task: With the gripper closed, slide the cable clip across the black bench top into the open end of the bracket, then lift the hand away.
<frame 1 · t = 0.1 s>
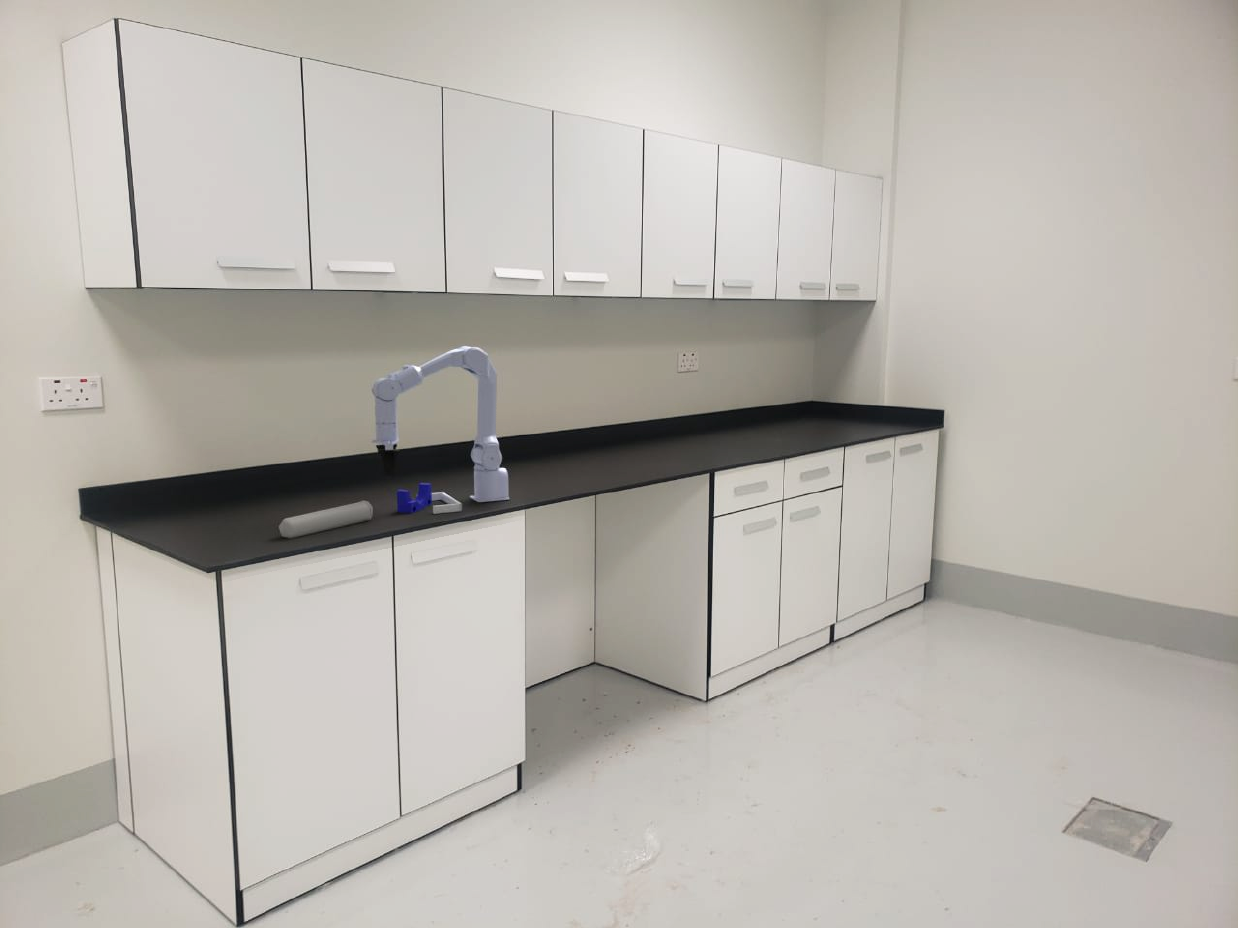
hand: (388, 472, 239), 10 cm above the table, tool pointing down, fingers open, 7 cm apart
cable clip: (417, 509, 242), on the table
bracket: (437, 506, 244), on the table
tube: (326, 530, 218), on the table
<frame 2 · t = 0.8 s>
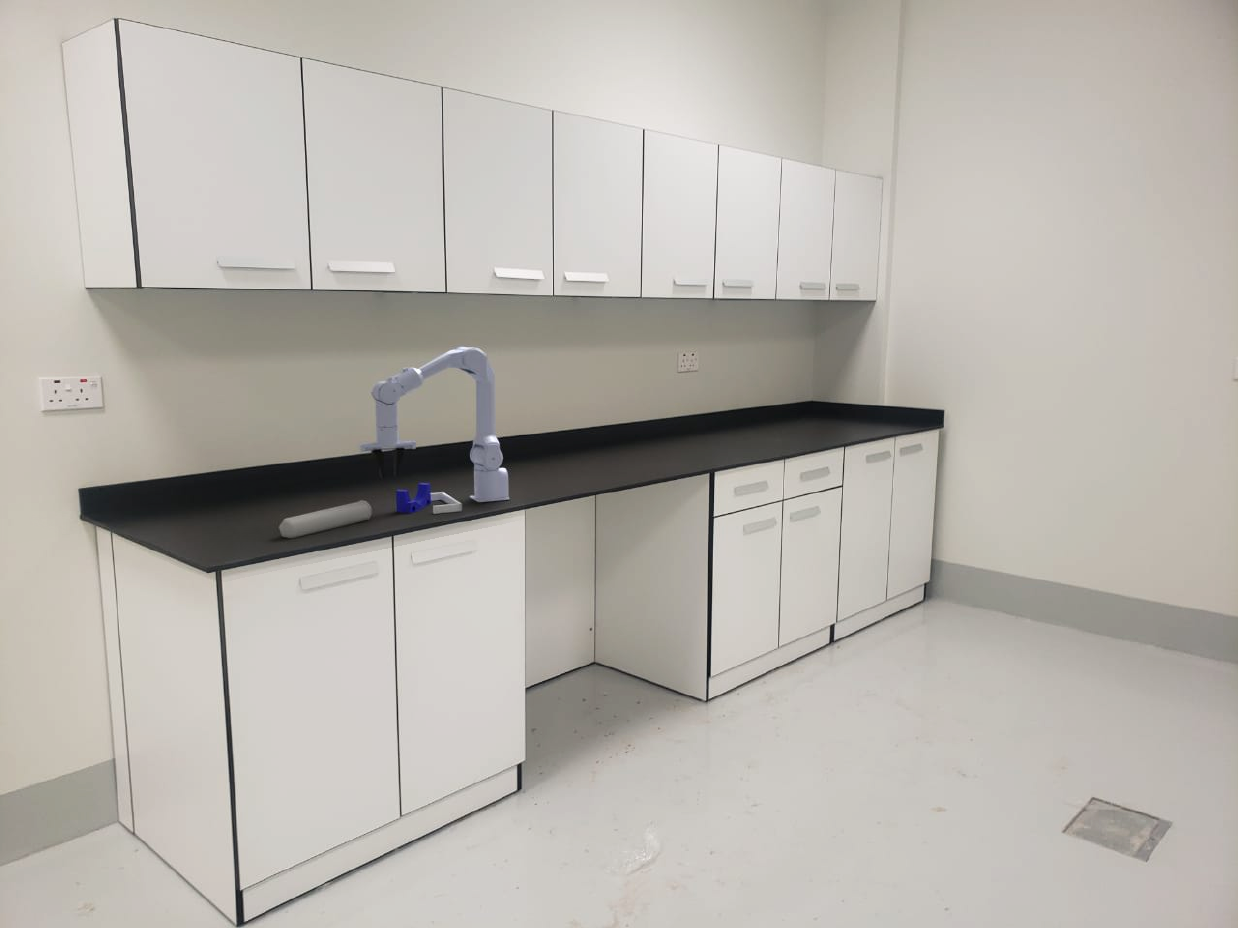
hand: (389, 476, 237), 9 cm above the table, tool pointing down, fingers open, 3 cm apart
nothing on the table moved.
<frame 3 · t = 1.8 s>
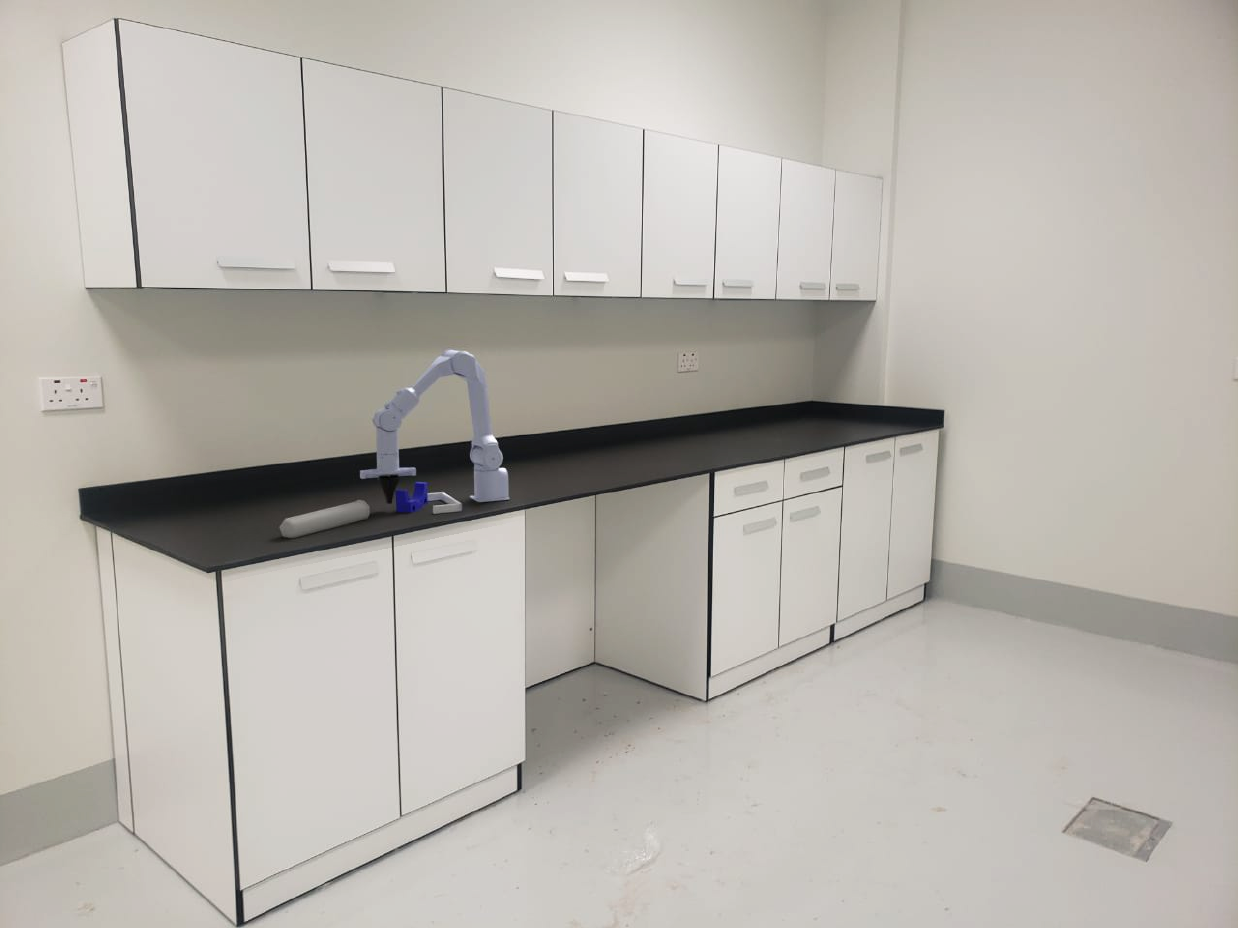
hand: (389, 503, 238), 2 cm above the table, tool pointing down, fingers closed
cable clip: (414, 508, 242), on the table, touching gripper
everything else where it was.
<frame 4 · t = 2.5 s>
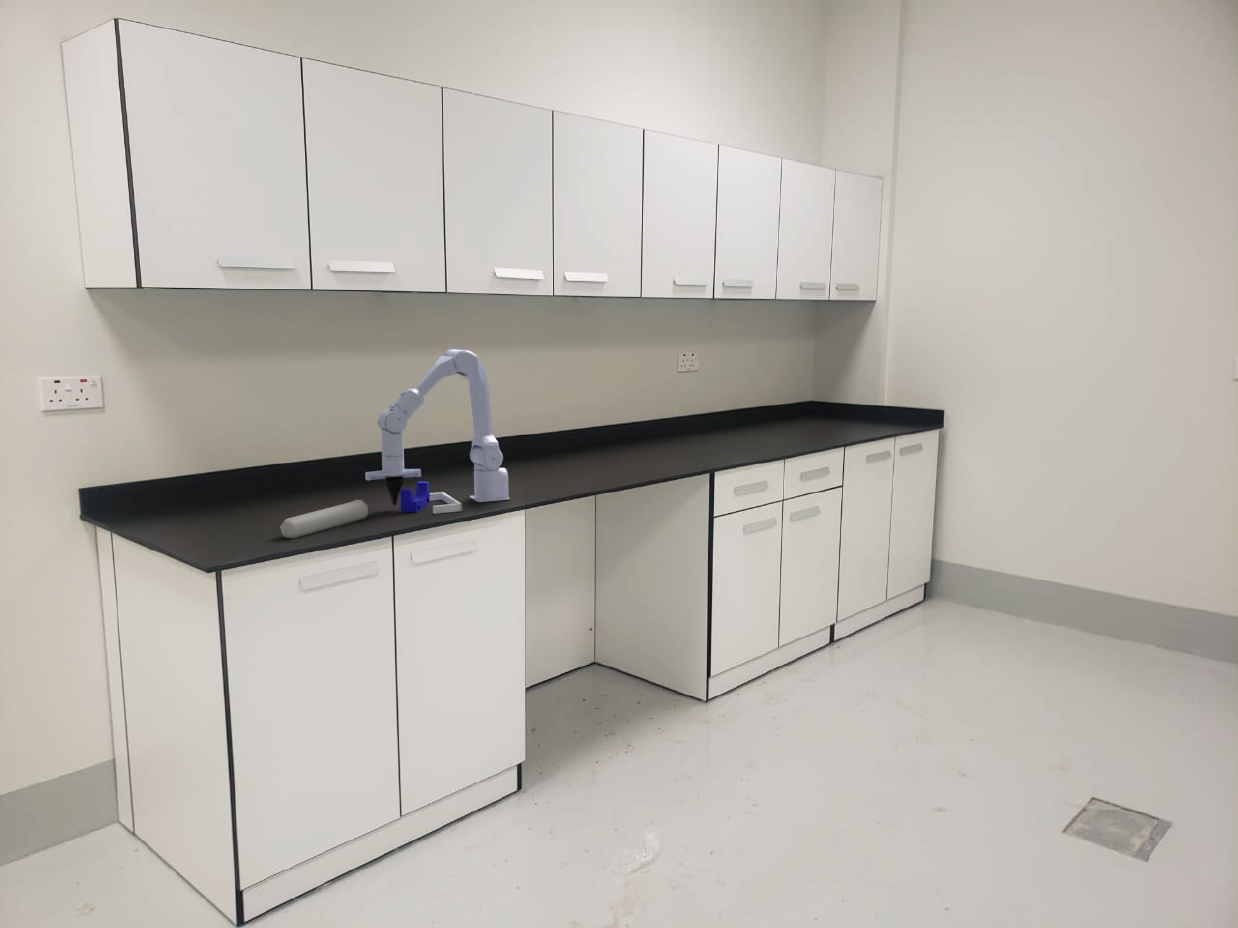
hand: (394, 504, 238), 2 cm above the table, tool pointing down, fingers closed
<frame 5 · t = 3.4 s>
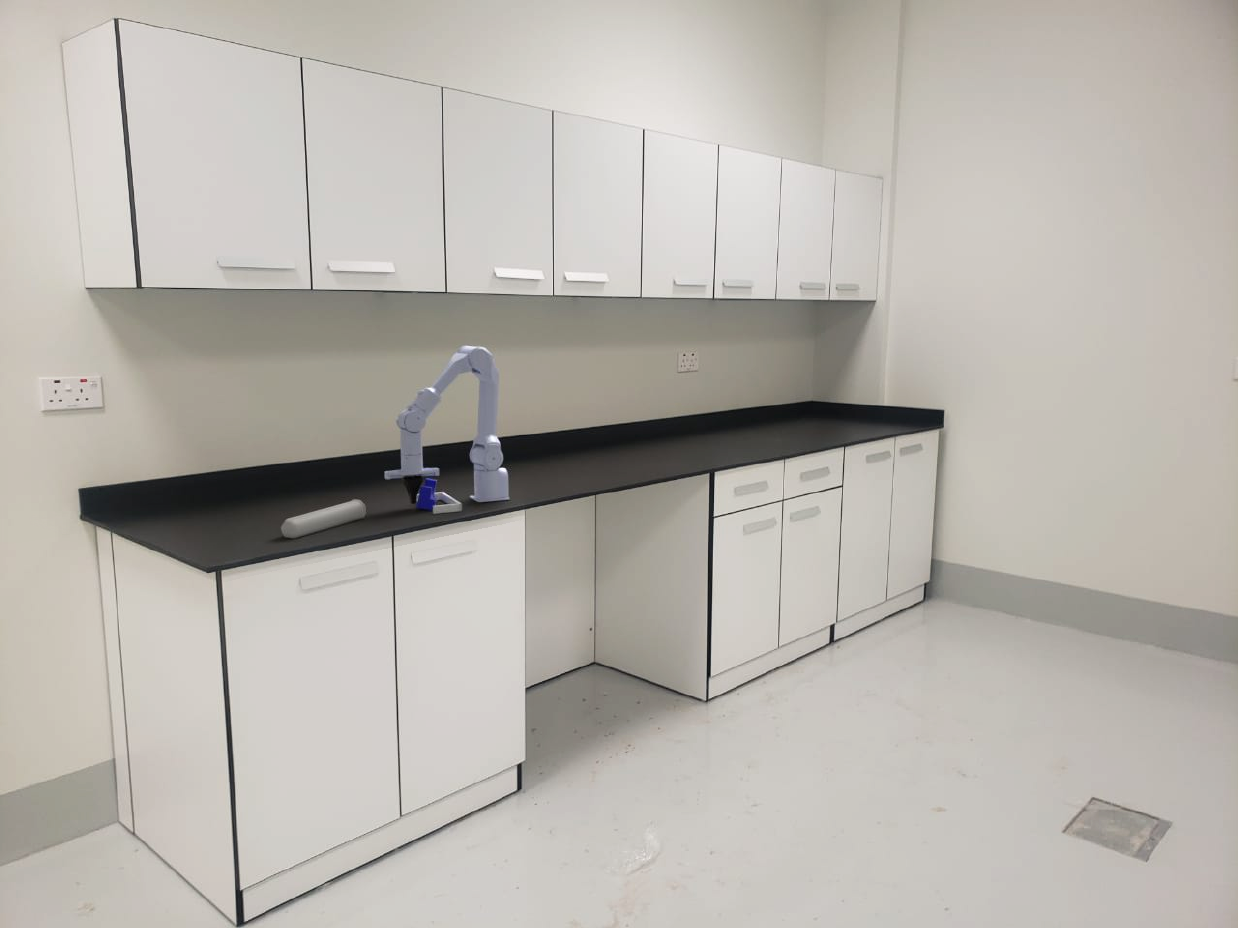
hand: (413, 503, 241), 2 cm above the table, tool pointing down, fingers closed
cable clip: (427, 505, 245), on the table, touching gripper
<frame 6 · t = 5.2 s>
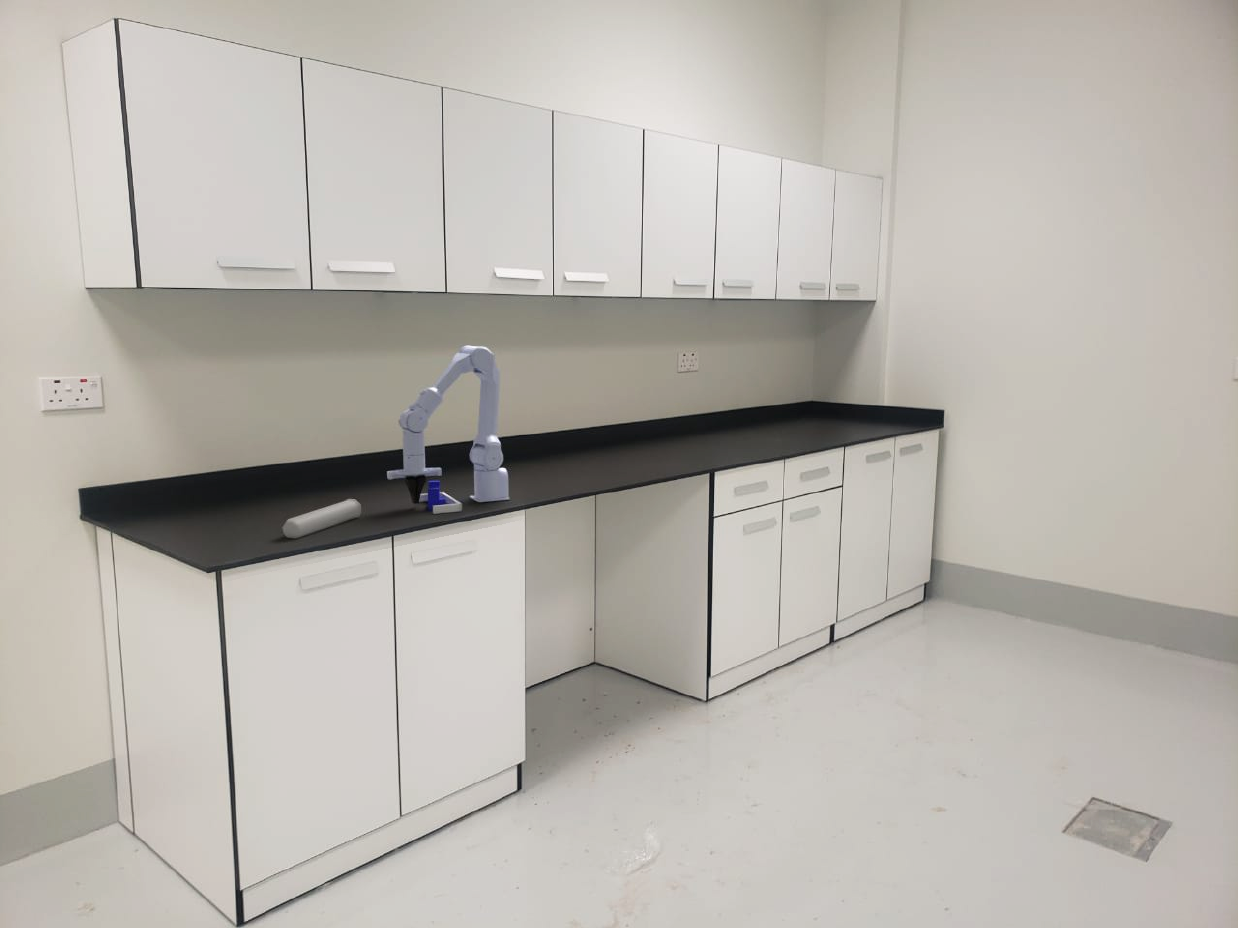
hand: (415, 502, 241), 2 cm above the table, tool pointing down, fingers closed
cable clip: (437, 506, 246), on the table
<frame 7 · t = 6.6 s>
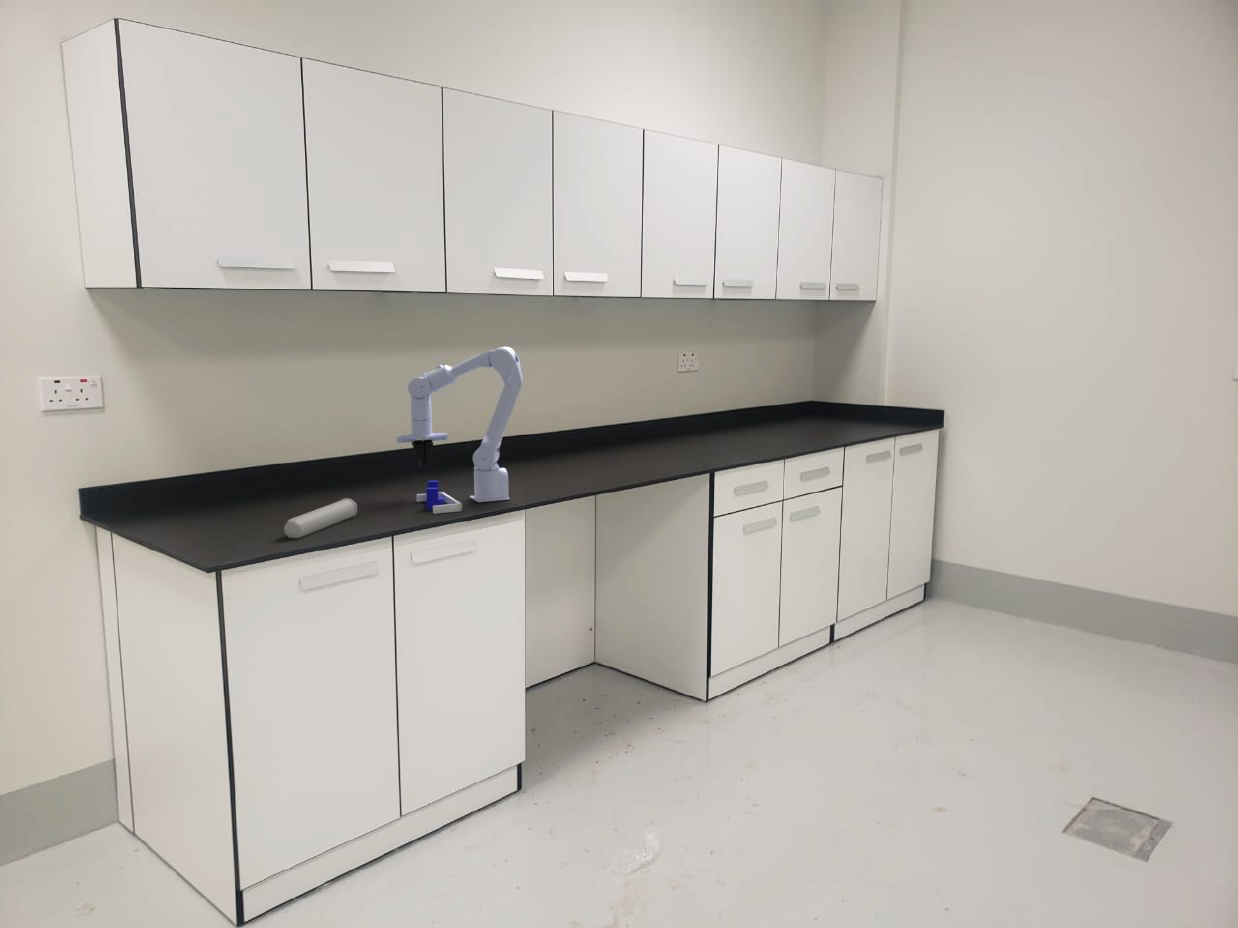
hand: (423, 466, 253), 9 cm above the table, tool pointing down, fingers closed
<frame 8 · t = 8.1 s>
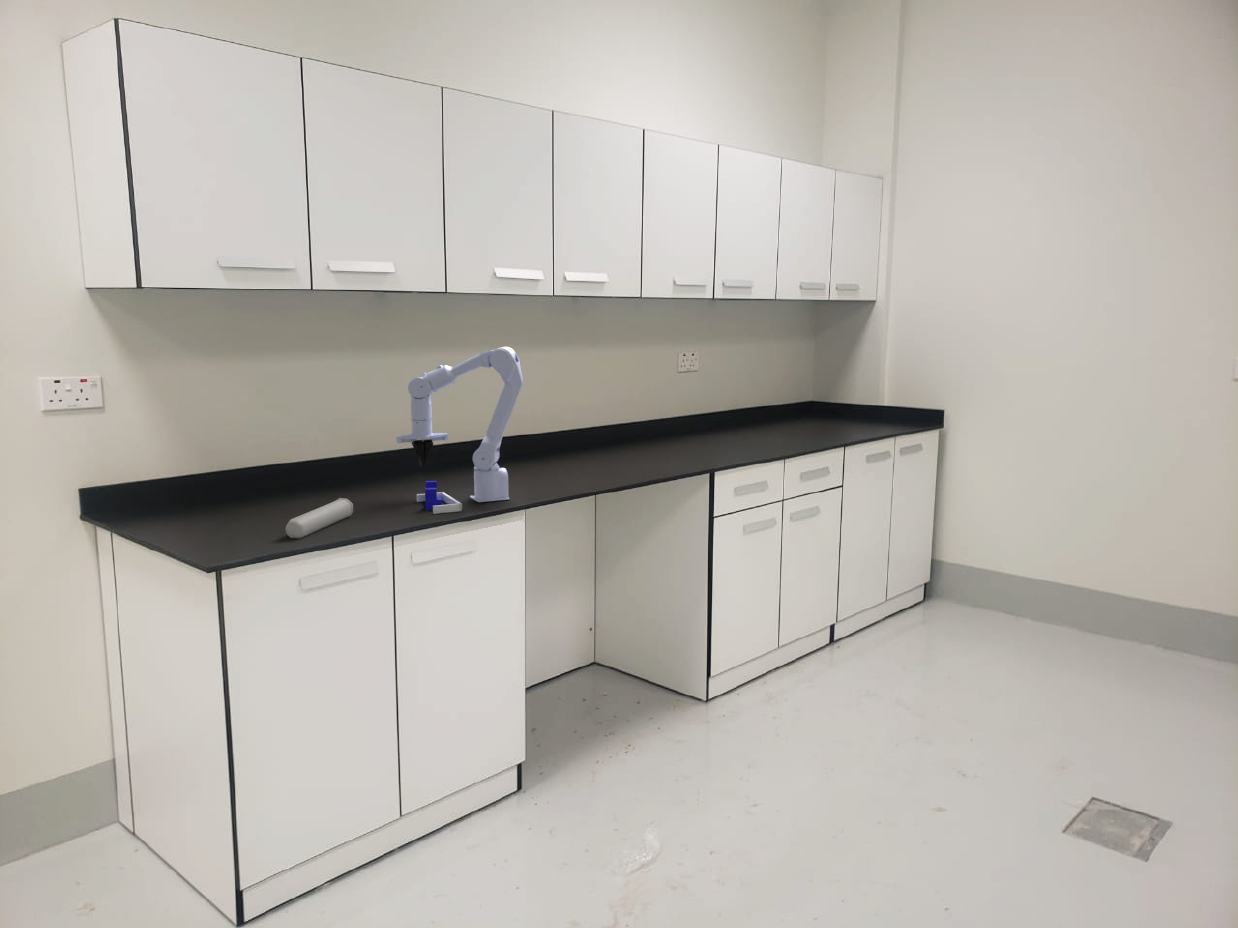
hand: (423, 466, 253), 9 cm above the table, tool pointing down, fingers closed
at the end: cable clip inside the target area on the bracket (1.7 cm from its centre), point 0.0 cm above the bracket's base; cable clip moved 5.3 cm from its start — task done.
